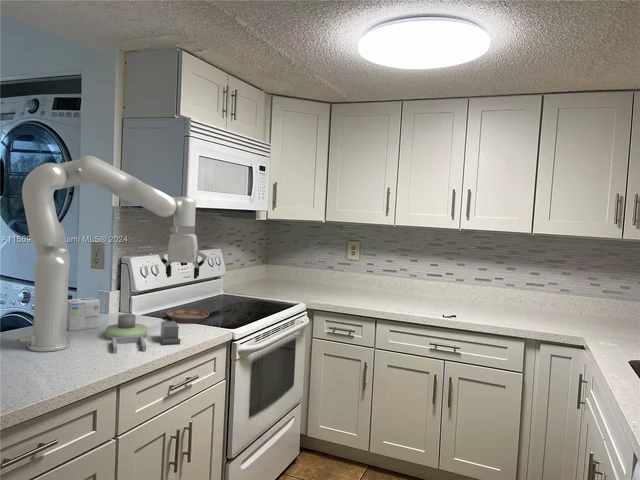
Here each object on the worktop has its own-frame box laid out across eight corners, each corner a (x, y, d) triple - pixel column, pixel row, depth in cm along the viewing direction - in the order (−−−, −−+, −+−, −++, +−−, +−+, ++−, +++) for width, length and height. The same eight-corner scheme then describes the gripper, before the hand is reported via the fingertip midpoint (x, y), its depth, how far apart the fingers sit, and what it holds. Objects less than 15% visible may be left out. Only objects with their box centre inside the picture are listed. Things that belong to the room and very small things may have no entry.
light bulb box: (93, 323, 184) (94, 296, 184) (99, 327, 180) (100, 300, 179) (63, 327, 177) (64, 299, 176) (69, 331, 172) (70, 302, 171)
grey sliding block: (162, 345, 164) (163, 328, 163) (159, 337, 173) (159, 321, 172) (180, 344, 166) (181, 328, 166) (175, 336, 175) (176, 321, 175)
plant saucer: (196, 313, 215) (197, 307, 215) (216, 322, 202) (216, 315, 202) (159, 317, 203) (160, 310, 203) (177, 326, 190) (178, 319, 190)
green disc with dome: (106, 353, 151) (107, 332, 150) (105, 331, 175) (106, 313, 174) (152, 350, 157) (153, 330, 156) (144, 330, 181) (145, 312, 180)
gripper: (156, 230, 165) (155, 277, 166) (205, 232, 166) (204, 280, 167) (162, 229, 172) (161, 274, 174) (210, 231, 173) (208, 277, 174)
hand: (182, 277), depth 170 cm, fingers open, 9 cm apart
